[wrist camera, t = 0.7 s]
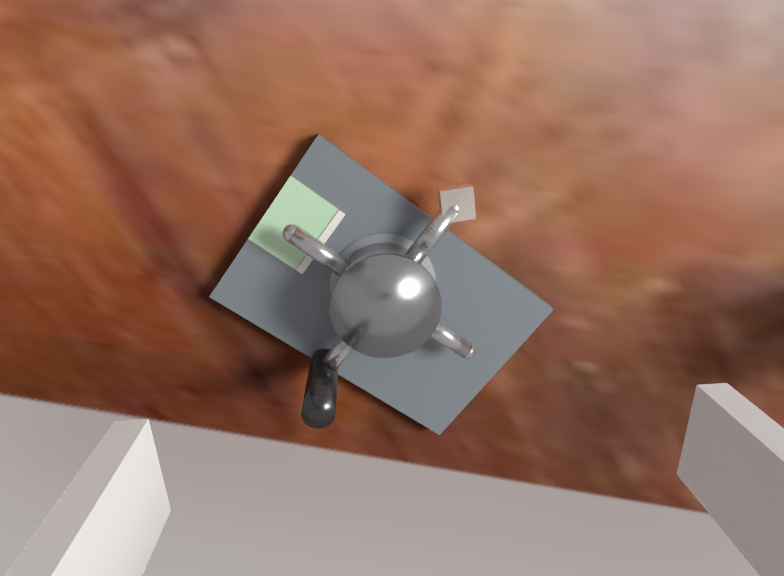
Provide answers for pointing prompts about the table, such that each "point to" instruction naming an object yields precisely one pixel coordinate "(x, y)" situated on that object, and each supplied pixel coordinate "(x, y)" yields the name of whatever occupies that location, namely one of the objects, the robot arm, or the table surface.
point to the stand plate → (315, 282)
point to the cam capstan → (381, 301)
